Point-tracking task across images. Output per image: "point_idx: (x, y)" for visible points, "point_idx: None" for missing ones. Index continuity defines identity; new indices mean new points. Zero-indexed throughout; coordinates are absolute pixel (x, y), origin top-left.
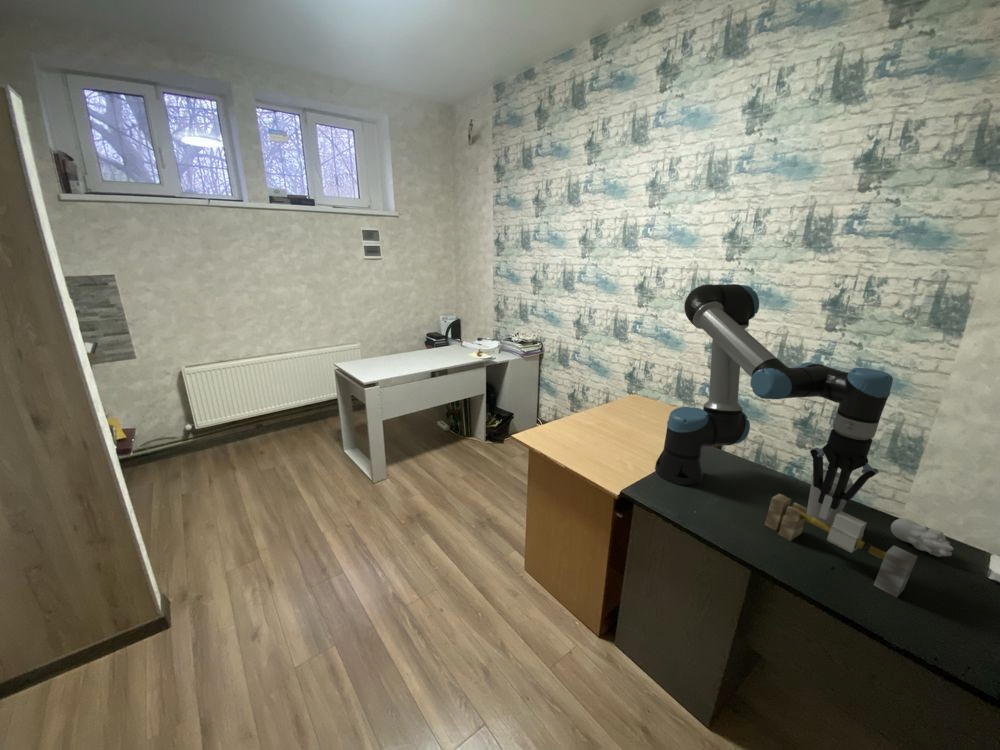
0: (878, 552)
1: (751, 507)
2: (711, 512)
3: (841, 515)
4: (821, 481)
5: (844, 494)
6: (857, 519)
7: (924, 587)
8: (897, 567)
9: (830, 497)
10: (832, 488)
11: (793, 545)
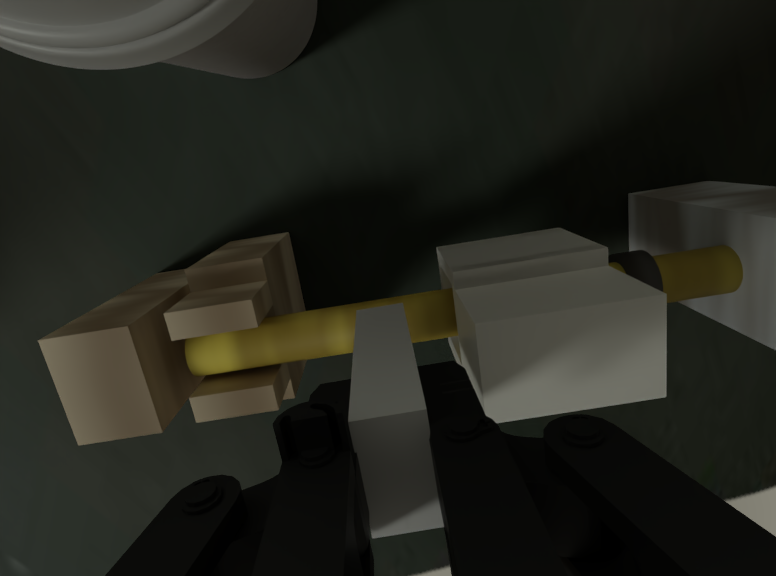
0: (697, 296)
1: (30, 274)
2: (36, 503)
3: (511, 392)
4: (213, 555)
5: (554, 540)
6: (606, 324)
7: (756, 55)
8: None
9: (424, 523)
10: (194, 23)
11: (339, 356)
